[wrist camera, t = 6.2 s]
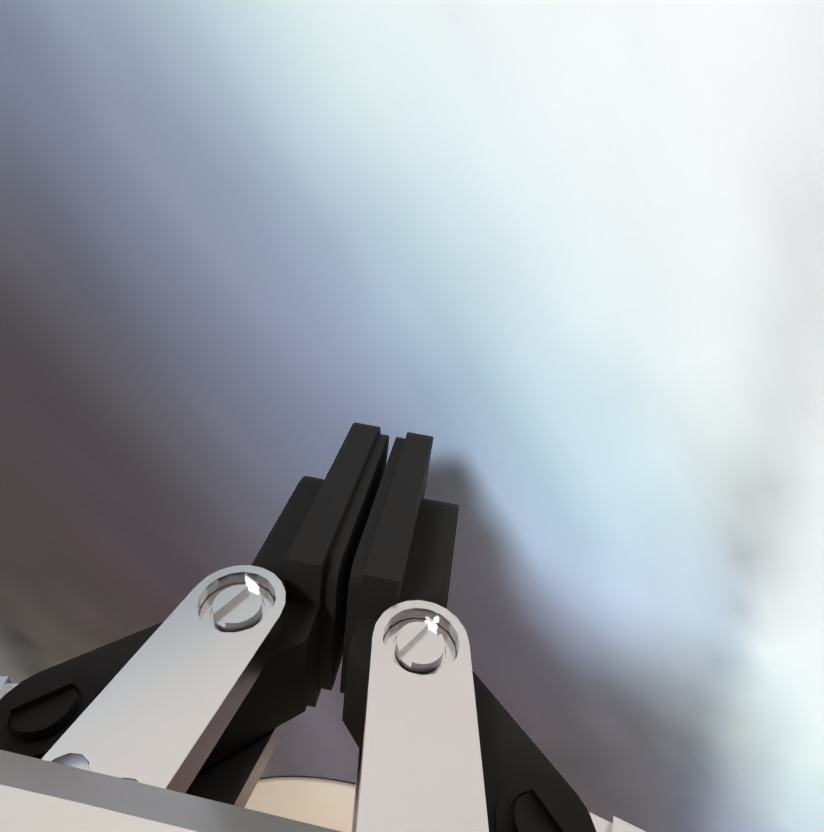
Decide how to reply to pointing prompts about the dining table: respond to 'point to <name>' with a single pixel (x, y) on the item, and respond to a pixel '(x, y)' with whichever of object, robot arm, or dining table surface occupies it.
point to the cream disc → (306, 800)
